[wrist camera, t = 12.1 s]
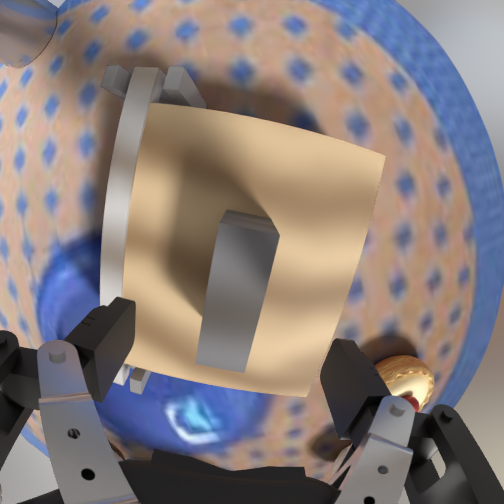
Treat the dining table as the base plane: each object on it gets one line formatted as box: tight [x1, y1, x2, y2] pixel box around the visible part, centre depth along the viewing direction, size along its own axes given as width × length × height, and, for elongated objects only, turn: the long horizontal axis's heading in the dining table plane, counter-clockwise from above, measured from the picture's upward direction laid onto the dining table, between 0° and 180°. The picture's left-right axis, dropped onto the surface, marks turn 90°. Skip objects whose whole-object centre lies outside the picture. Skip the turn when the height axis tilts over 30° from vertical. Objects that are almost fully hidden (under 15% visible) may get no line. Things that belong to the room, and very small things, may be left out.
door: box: [100, 67, 385, 397], centre depth 17 cm, size 25×18×6 cm
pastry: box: [374, 355, 434, 412], centre depth 30 cm, size 12×12×9 cm
